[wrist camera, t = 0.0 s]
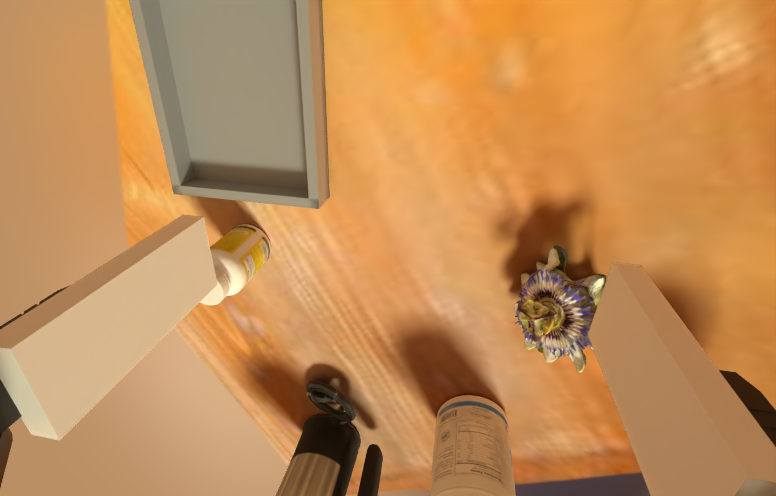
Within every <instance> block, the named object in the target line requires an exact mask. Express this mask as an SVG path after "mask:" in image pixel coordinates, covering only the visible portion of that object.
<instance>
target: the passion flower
mask: <svg viewBox="0 0 776 496" xmlns="http://www.w3.org/2000/svg"><path fill="white" fill-rule="evenodd" d="M567 261H568V259H567V253H566V251H565V250H564V249H563V248H562V247H561V246H558V245H556V246H554V247H553V248H551V249H550V253H549V257H548V264H547V263H545V262H542V261H537V262H536V263H537V266H536V267H537V272H535V273H533V274H531V273H522V275H521V282H522V288H521V293H520V295H519V297H521V301H518V302H517V303H516V304H515V306H514V309H515V310H516V314H517V316H515V317H518V320H520V321H518V322H519V325H522V328H523V334H524V335H525V342H524V345H525V348H526V349H532V348H534V347H535V346H536V348H537V349H538V351H539V352H541V353H543V354H544V358H545V361H546V362H552V361H555V360H557V359H558V358H559V357H560V356H562V357H564V356H565V355H564V353H565V352H566V353H567V354H568V356H569V357H570V358H571V360H572V361H574V364H575V367H576V369H577V372H582V371H583V370H584V367H585V365H586V357H585V355H584V353H583V351H582V350H583V349H585V347H587V346H588V345H589V346H590V347H591V348H592V349H593V346H592V344H591V341H590V339H589V336H588V333H589V330H590V327H591V324H592V321H593V318H594V315H595V312H596V310H597V307H598V304H599V301H600V298H601V295H602V292H603V289H604V286H605V283H606V276H605V275H601V274H594V275H592V276H589V277H586V278H582V279H580V280H577V281H573V280H571V279H569V278H568V277H567V276H566V275H565V266H566V264H567ZM518 322H516V323H518ZM516 323H515V324H516Z"/></svg>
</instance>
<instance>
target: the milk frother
mask: <svg viewBox="0 0 776 496" xmlns="http://www.w3.org/2000/svg"><path fill="white" fill-rule="evenodd" d="M306 390H307V393H306V395H308V396H309V398H310V399H311V401H312V402H313V403H314V404H315V405H316V406H317V407H319V408H320V409H321V410H323V411H324V412H326V413H328V414H330V415H316V416H313V417H311V418H309V419H308V420H307V421H306V422H305V423H304V426H303V432H302V435H301V438H300V440H299V443H298V445H297V448H296V450H295V453H294V455H293V457H292V459H291V462H290V464H289V466H288V469H287V471H286V473H285V476H284V478H283V481H282V483H281V485H280V487H279V489H278V492H277V494H276V496H345V495H346V492H347V488H348V484H349V481H350V478H351V474H352V471H353V468H354V464H355V461H356V458H357V454H358V449H359V447H360V443H361V440H360V436H359V433H358V432H357V430H356V429H355V428H354V427H353V426H352V425H351V424H350V423H348V422H351V421H352V420H354V418H355V416H356V411H355V409H354V407H353V405H352V404H351V403H350V402H349V401H348V399H347V398H346V397H345V396H343V395H342V394H341V393H340V392H339V391H337V390H336V389H334V388H333V387H331V386H330V385H328V384H326V383H323V382H320V381H311V382H309V384H308V385H307V389H306ZM330 401H332V402H334V403H335V402H336V401H337V402H339V403H340V404H341V406H342V407H343V408H344V409H345V411H346V412H340V411H337V410H335V409H333V408H331V407H329V406H328V405H327V404H325V403H324V402H330ZM331 415H332V416H331ZM382 460H383V456H382V452H381V450H380V448H379V447H378V445H375V444H371V445H370V446H369V447H368V449H367V454H366V458H365V463H364V468H363V472H362V477H361V482H360V487H359V492H358V496H377V495H378V488H379V482H380V475H381V467H382Z"/></svg>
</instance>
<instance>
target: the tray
mask: <svg viewBox="0 0 776 496" xmlns="http://www.w3.org/2000/svg"><path fill="white" fill-rule="evenodd" d="M129 3H130V7H131V11H132V16H133V20H134V24H135V29H136V33H137V37H138V41H139V46H140V50H141V54H142V59H143V63H144V67H145V72H146V76H147V80H148V84H149V89H150V93H151V97H152V102H153V106H154V110H155V114H156V119H157V123H158V127H159V132H160V136H161V140H162V145H163V149H164V153H165V157H166V162H167V166H168V170H169V175H170V179H171V183H172V188H173V192H174V194H179V195H189V196H199V197H208V198H218V199H228V200H237V201H247V202H257V203H267V204H276V205H286V206H296V207H306V208H315V209H319V208H320V207H321V206H322V205H323V204H324V203H325V201H326V200H327V199H328V198H329V197H330V194H329V169H328V143H327V117H326V91H325V66H324V40H323V14H322V0H129Z"/></svg>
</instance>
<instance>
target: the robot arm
mask: <svg viewBox="0 0 776 496" xmlns="http://www.w3.org/2000/svg"><path fill="white" fill-rule="evenodd" d="M217 285H218V284H217V279H216V274H215V269H214V265H213V260H212V255H211V250H210V245H209V240H208V235H207V230H206V225H205V220H204V217H200V216H191V215H182V216H180V217H179V218H177V219H176V220H174V221H172V222H171V223H169V224H168V225H166V226H165V227H163V228H161V229H160V230H158V231H157V232H155V233H153V234H152V235H150V236H149V237H147V238H145V239H144V240H142V241H141V242H139V243H137V244H136V245H134V246H133V247H131V248H129V249H128V250H126V251H125V252H123V253H121V254H120V255H118V256H117V257H115V258H113V259H112V260H110V261H109V262H107V263H106V264H104V265H102V266H101V267H99V268H98V269H96V270H94V271H93V272H91V273H90V274H88V275H86V276H85V277H83V278H82V279H80V280H78V281H77V282H75V283H74V284H72V285H70V286H68V287H66V288H63V289H60V290H58V291H56V292H55V293H53V294H52V295H50V296H48V297H47V298H45V299H44V300H42V301H40V304H39V305H37V304H36V305H34V306H32V307H31V308H29V309H28V310H26V311H24V314H20V315H18V316H17V317H15V318H13V319H11V320H10V321H8V322H7V323H5V324H3V325H2V326H0V487H1V483H2V479H3V475H4V471H5V468H6V464H7V460H8V456H9V452H10V448H11V445H12V433H11V431H10V429H9V428H8V427H9V426H11V425H12V424H13V423H14V422H15V421H16V420H18V419H19V418H20V417H21V418H22V420H23V421H24V423H25V424H26V426H27V428H28V430H29V431H30V433H31V434H32V435H36V436H41V437H46V438H51V439H56V440H61V439H62V438H63V437H64V436H65V435H66V434H67V433H68V432H69V431H70V430H71V429H72V428H73V427H74V426H75V425H76V424H77V423H78V422H79V421H80V420H81V419H82V418H83V417H84V416H85V415H86V414H87V413H88V412H89V411H90V410H91V409H92V408H93V407H94V406H95V405H96V404H97V403H98V402H99V401H100V400H101V399H102V398H103V397H104V396H105V395H106V394H107V393H108V392H109V391H110V390H111V389H112V388H113V387H114V386H115V385H116V384H117V383H118V382H119V381H120V380H121V379H122V378H123V377H124V376H125V375H127V374H128V372H130V371H131V370H132V369H133V368H134V367H135V366H136V365H137V364H138V363H139V362H140V361H141V360H142V359H143V358H144V357H145V356H146V355H147V353H149V352H150V351H151V350H152V349H153V348H154V347H155V346H156V345H157V344H158V343H159V342H160V341H161V340H162V339H163V338H164V337H165V336H166V335H167V334H168V333H169V332H170V331H171V330H172V329H173V328H174V327H175V326H176V325H177V324H178V323H179V322H180V321H181V320H182V319H183V318H184V317H185V316H186V315H187V314H188V313H189V312H190V311H191V310H192V309H193V308H194V307H195V306H196V305H197V304H198V303H199V302H200V301H201V300H202V299H203V298H204V297H205V296H206V295H207V294H208V293H209V292H211V291H212V290H213V289H214V288H215V287H216V286H217ZM588 336H589V339H590V341H591V344H592V346H593V349H594V352H595V354H596V357H597V359H598V362H599V364H600V367H601V369H602V372H603V375H604V377H605V380H606V382H607V385H608V387H609V390H610V392H611V395H612V398H613V400H614V403H615V405H616V408H617V410H618V413H619V415H620V418H621V420H622V423H623V426H624V428H625V431H626V433H627V436H628V438H629V441H630V443H631V446H632V449H633V451H634V454H635V456H636V459H637V461H638V464H639V466H640V469H641V472H642V474H643V477H644V479H645V482H646V484H647V487H648V489H649V492H650V494H651V496H776V410H775V409H774V408H773V407H772V405H771V404H770V403H769V402H768V400H767V399H766V398H765V397H764V395H763V394H762V393H761V392H760V391H759V390H758V389H756V388H755V387H754V386H752V385H751V384H750V383H749V382H747V381H746V380H745V379H743V378H742V377H741V376H740V375H738V374H737V373H736V372H729V371H722V370H718V369H717V367H716V366H715V365H714V363H713V362H712V361H711V359H710V358H709V356H708V355H707V354H706V352H705V351H704V350H703V348H702V347H701V346H700V344H699V343H698V342H697V340H696V339H695V338H694V336H693V335H692V333H691V332H690V331H689V329H688V328H687V327H686V325H685V324H684V323H683V321H682V320H681V319H680V317H679V316H678V315H677V313H676V312H675V311H674V309H673V308H672V306H671V305H670V304H669V302H668V301H667V300H666V298H665V297H664V296H663V294H662V293H661V292H660V290H659V289H658V288H657V286H656V285H655V283H654V282H653V281H652V279H651V278H650V277H649V275H648V274H647V273H646V271H645V270H644V269H643V267H642V266H641V265H637V264H628V263H619V262H613V263H612V266H611V269H610V272H609V275H608V277H607V280H606V283H605V286H604V289H603V292H602V295H601V298H600V301H599V304H598V307H597V310H596V312H595V315H594V318H593V321H592V324H591V327H590V330H589V333H588Z"/></svg>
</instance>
